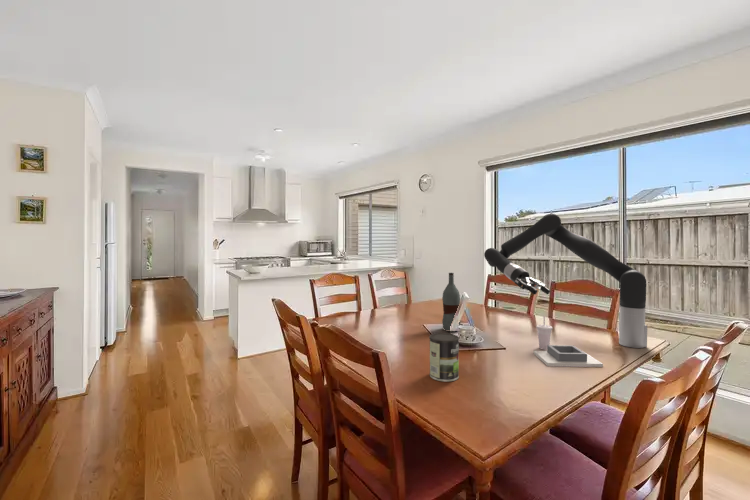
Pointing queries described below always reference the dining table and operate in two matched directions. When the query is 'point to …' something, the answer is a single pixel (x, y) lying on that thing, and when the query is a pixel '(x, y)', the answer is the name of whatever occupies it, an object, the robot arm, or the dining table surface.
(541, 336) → the smoothie
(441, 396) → the dining table surface
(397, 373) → the dining table surface
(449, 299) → the dark grey tall bottle
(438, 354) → the coffee can
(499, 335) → the dining table surface
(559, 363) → the socket stand
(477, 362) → the dining table surface
